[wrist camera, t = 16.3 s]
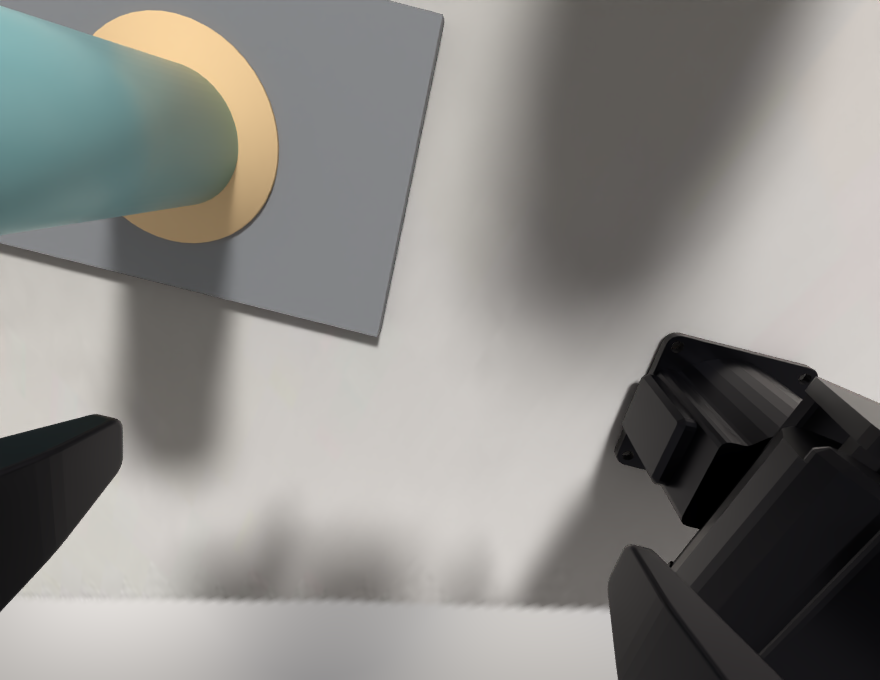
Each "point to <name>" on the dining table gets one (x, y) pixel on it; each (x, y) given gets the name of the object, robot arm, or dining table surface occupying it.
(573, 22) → the dining table surface
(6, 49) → the teal capped cylinder
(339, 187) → the mat
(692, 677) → the robot arm
